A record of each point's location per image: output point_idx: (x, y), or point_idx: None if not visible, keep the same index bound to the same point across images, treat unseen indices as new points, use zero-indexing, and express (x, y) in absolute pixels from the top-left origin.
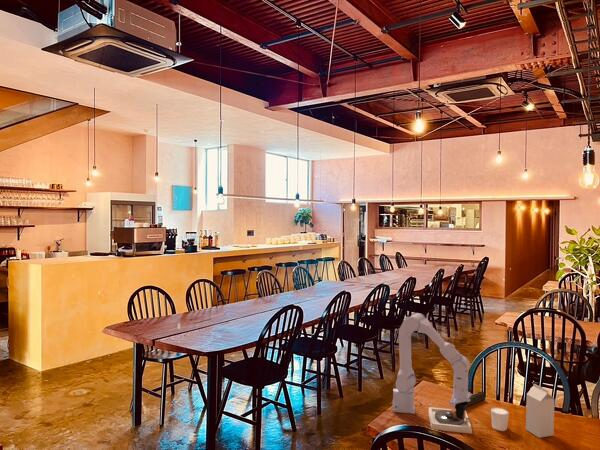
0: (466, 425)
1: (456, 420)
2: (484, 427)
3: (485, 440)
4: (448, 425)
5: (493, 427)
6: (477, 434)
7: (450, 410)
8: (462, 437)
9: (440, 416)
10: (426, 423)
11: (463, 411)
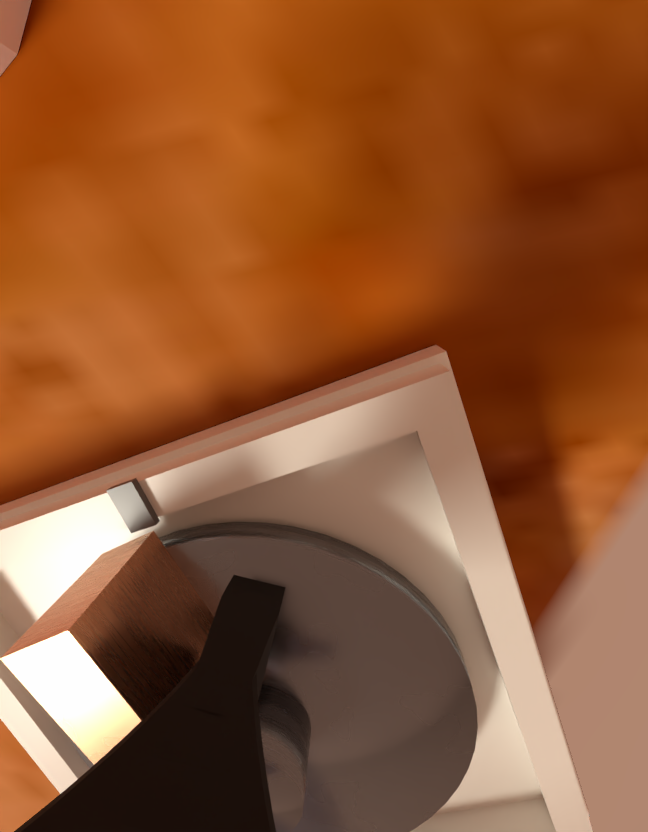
0: (307, 468)
1: (313, 630)
2: (104, 214)
3: (579, 75)
4: (547, 692)
5: (4, 51)
6: (417, 263)
7: (45, 729)
8: (633, 442)
9: (325, 805)
10: None
11: (232, 730)
